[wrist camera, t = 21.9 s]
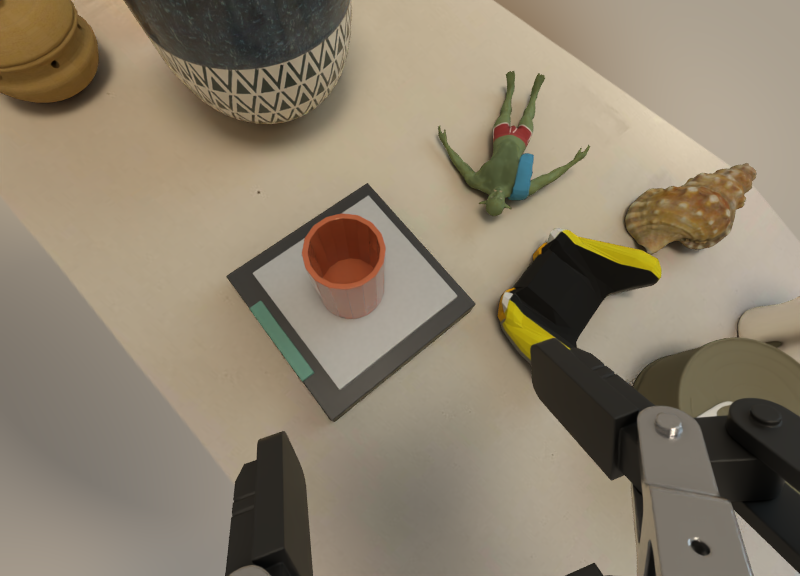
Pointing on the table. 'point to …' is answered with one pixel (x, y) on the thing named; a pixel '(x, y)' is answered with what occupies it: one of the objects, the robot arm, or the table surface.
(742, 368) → the can
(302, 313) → the scale
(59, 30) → the pot
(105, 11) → the table surface
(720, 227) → the seashell
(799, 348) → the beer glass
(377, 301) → the cup
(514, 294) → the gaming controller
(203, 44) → the planter
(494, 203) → the figurine
